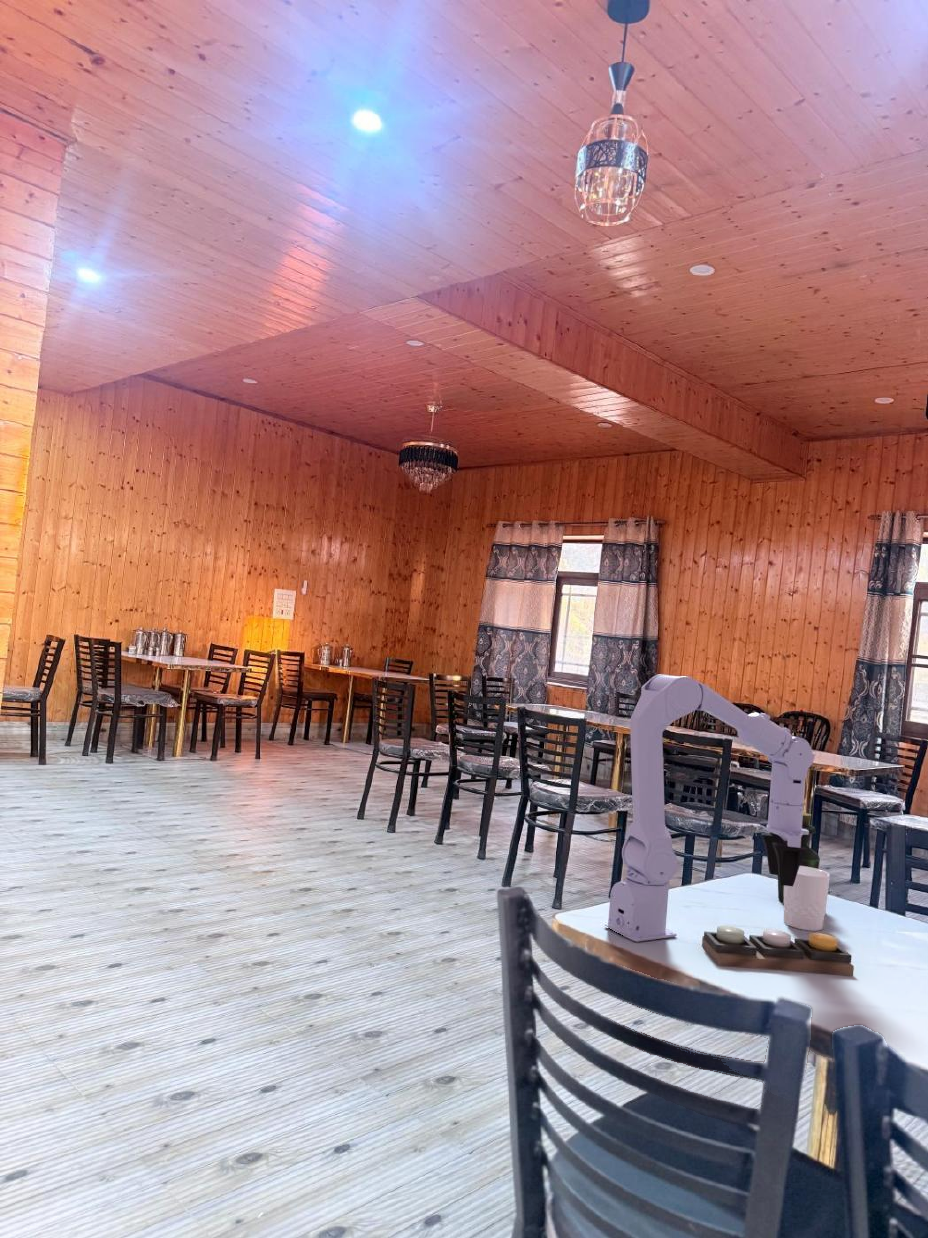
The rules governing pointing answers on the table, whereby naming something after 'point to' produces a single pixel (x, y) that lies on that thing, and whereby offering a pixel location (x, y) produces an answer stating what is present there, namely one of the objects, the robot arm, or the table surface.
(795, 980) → the table surface
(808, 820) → the potion bottle
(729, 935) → the sage button
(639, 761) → the robot arm
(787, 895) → the white cup
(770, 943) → the pale pink button
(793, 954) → the button panel
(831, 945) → the amber button
